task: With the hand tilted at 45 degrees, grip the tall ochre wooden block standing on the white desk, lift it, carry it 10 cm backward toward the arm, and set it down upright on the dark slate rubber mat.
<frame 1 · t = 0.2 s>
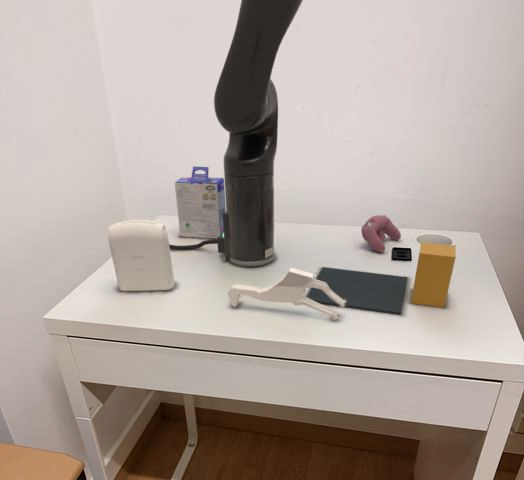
mat: (358, 289, 86), on the table
block: (428, 298, 82), on the table
video game controller: (379, 245, 104), on the table
photo printer: (146, 288, 88), on the table
ink cartridge box: (204, 235, 110), on the table
llama figurine: (285, 312, 79), on the table
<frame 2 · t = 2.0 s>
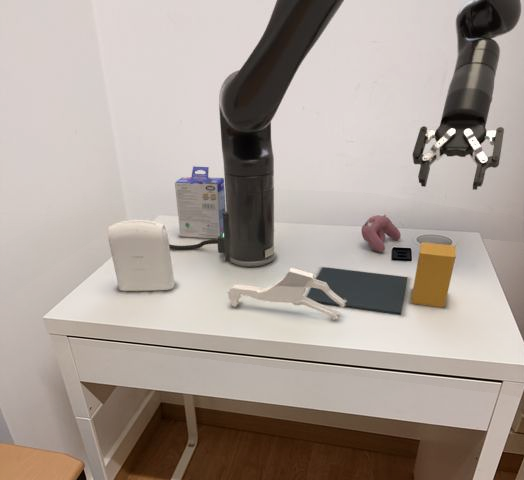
hand: (448, 185, 83), 16 cm above the table, tool tilted 40°, fingers open, 8 cm apart
nothing on the table moved.
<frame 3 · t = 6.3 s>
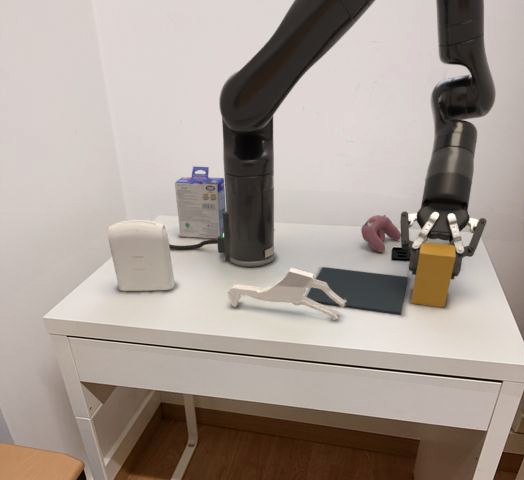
hand: (433, 274, 79), 5 cm above the table, tool tilted 45°, fingers closed on block, 5 cm apart
block: (428, 298, 82), on the table, touching gripper
everything else where it was.
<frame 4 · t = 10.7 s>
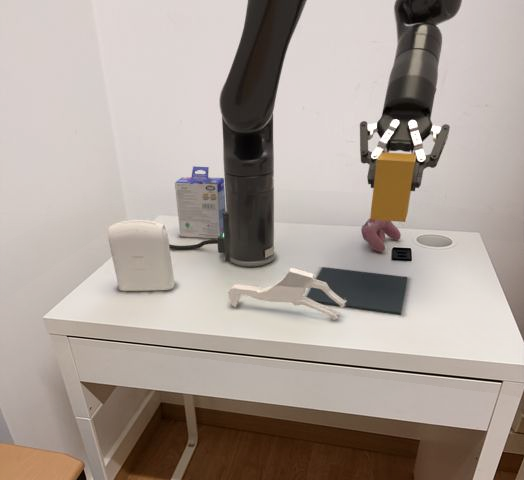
hand: (392, 186, 74), 18 cm above the table, tool tilted 45°, fingers closed on block, 5 cm apart
block: (389, 215, 77), point 14 cm above the table, touching gripper
everything else where it was.
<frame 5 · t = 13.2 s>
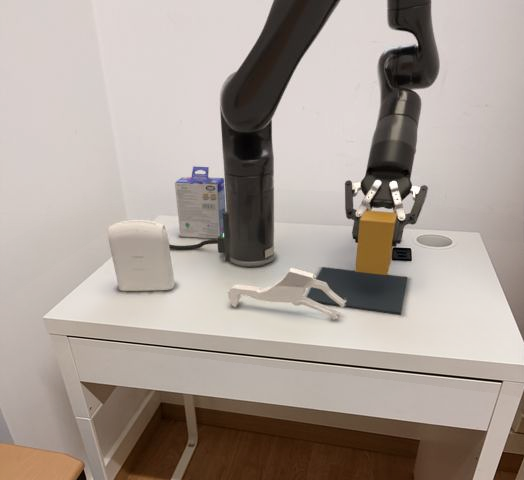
hand: (375, 242, 80), 9 cm above the table, tool tilted 45°, fingers closed on block, 5 cm apart
block: (373, 267, 83), point 5 cm above the table, touching gripper
everything else where it was.
when the fingers open (5 cm above the table, at t = 14.9 s): block stays where it is, resting on mat.
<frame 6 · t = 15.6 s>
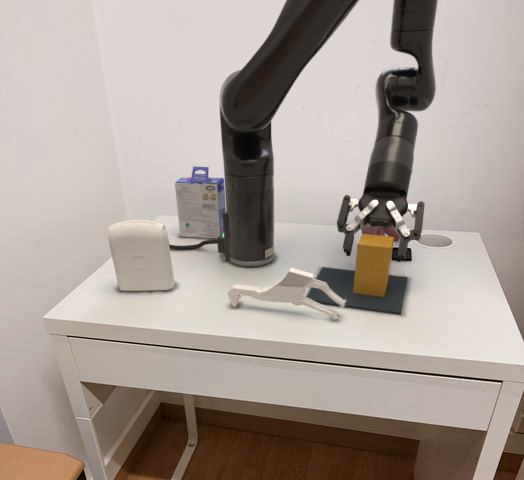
hand: (373, 257, 82), 6 cm above the table, tool tilted 45°, fingers open, 8 cm apart
block: (370, 289, 85), resting on mat
everything else where it was.
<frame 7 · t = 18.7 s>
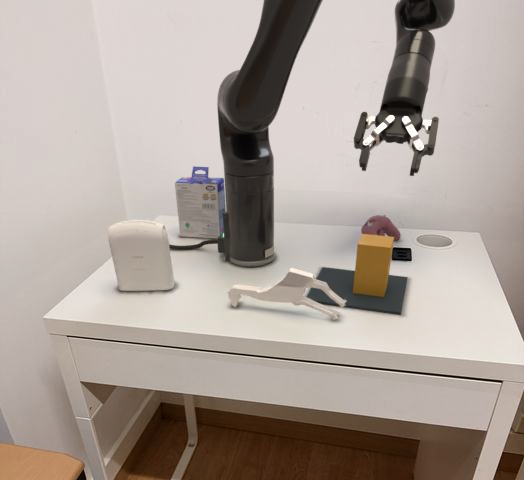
hand: (387, 171, 86), 18 cm above the table, tool tilted 45°, fingers open, 8 cm apart
nothing on the table moved.
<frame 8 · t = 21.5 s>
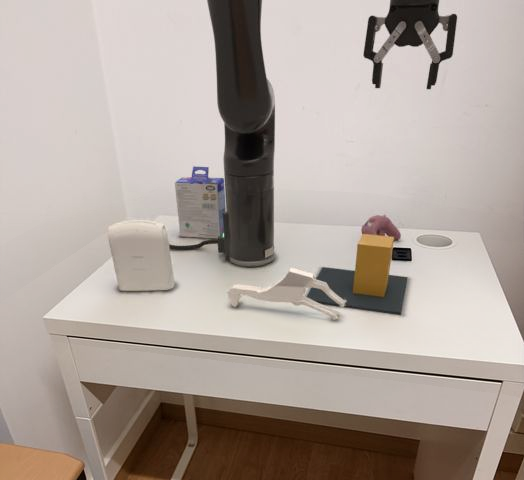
hand: (403, 88, 82), 30 cm above the table, tool pointing down, fingers open, 8 cm apart
nothing on the table moved.
at the end: block inside the target area (0.1 cm from its centre), resting on mat; block tilted 0°; the gripper is holding nothing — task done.
